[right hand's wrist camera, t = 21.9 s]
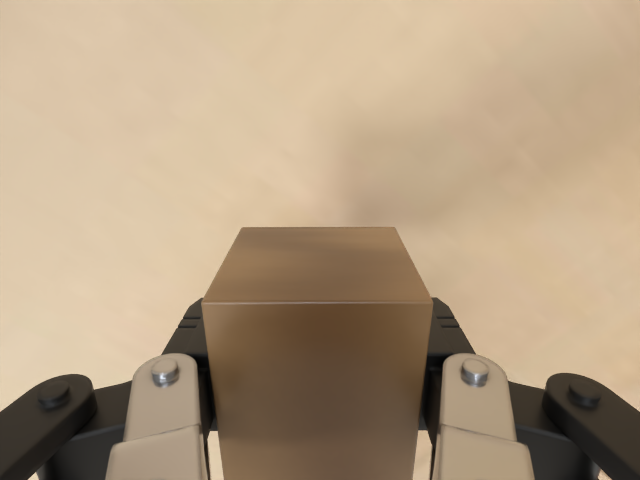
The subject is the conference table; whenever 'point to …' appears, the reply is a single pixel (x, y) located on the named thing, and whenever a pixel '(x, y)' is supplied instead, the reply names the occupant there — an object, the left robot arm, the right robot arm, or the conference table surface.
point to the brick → (317, 354)
